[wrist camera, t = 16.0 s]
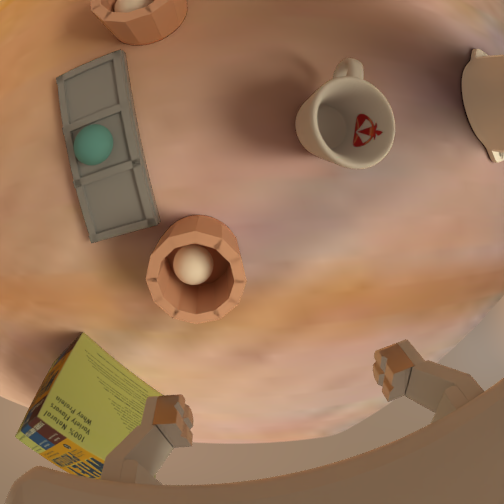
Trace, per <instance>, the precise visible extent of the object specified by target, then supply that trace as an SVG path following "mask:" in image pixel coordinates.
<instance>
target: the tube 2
mask: <svg viewBox="0 0 504 504" xmlns="http://www.w3.org/2000/svg"><path fill="white" fill-rule="evenodd" d="M190 244H197V245H200V246H203V247H204V248H206V249H207V250H208V251H209V252H210V254H211V256H212V258H213V264H214V266H213V271H212V274H211V275H210V277H209V278H208V279H207V280H206V281H205V282H203V283H201V284H198V285H189V284H186V283H184V282H182V281H181V280H180V279H179V278H178V277H177V276H176V274H175V272H174V268H173V261H174V257H175V255H176V253H177V252H178V251H179V250H180V249H181V248H182V247H184V246H186V245H190ZM146 282H147V285H148V287H149V290H150V293H151V296H152V298H153V301H154V302H155V303H156V304H157V305H158V306H159V307H160V308H161V309H163V310H164V311H165V312H166V313H167V314H168V315H170V316H171V317H172V318H175V319H179V320H183V321H186V322H191V323H195V324H199V323H204V322H208V321H213V320H218V319H221V318H222V317H223V316H225V315H226V314H227V313H228V312H229V311H231V310H232V309H233V308H234V307H235V306H237V305H238V304H239V301H240V299H241V296H242V293H243V290H244V288H245V285H246V282H247V281H246V277H245V272H244V268H243V264H242V259H241V255H240V251H239V247H238V243H237V239H236V237H235V236H234V234H233V233H232V231H231V230H230V229H229V228H228V227H227V226H226V225H225V224H224V223H222V222H221V221H219V220H217V219H215V218H212V217H209V216H205V215H193V216H188V217H185V218H182V219H180V220H178V221H177V222H175V223H174V224H173V225H171V226H170V227H169V229H168V230H167V231H166V232H165V234H164V235H163V236H162V237H161V239H160V240H159V242H158V244H157V245H156V247H155V249H154V250H153V252H152V254H151V256H150V260H149V265H148V270H147V275H146Z"/></svg>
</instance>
